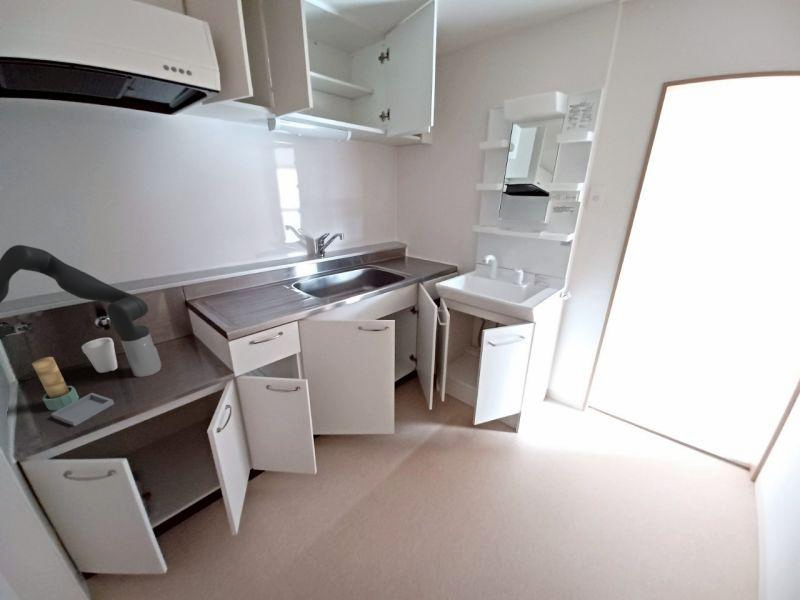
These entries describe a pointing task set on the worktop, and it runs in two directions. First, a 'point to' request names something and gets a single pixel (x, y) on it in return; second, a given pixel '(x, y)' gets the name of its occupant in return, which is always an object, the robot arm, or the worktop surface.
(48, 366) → the wooden dowel
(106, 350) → the foam cup
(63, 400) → the holder pot
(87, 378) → the worktop surface
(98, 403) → the tray
